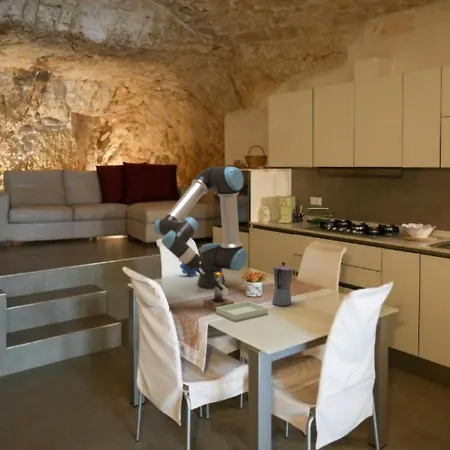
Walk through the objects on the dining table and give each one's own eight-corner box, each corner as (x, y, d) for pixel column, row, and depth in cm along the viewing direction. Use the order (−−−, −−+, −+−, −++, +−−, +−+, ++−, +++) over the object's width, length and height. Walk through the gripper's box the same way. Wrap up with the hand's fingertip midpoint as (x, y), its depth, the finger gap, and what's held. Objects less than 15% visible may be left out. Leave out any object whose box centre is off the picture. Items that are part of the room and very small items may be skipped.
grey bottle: (219, 302, 233) (219, 271, 231) (224, 304, 230) (224, 272, 228) (212, 304, 230) (212, 272, 228) (217, 306, 227) (217, 274, 225)
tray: (247, 307, 230) (247, 300, 230) (267, 314, 219) (267, 307, 219) (216, 313, 220) (216, 307, 219) (235, 321, 208) (235, 315, 208)
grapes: (181, 278, 287) (181, 258, 286) (179, 276, 294) (178, 256, 292) (201, 277, 291) (201, 257, 290) (198, 274, 298) (197, 255, 296)
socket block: (220, 302, 237) (220, 296, 237) (233, 307, 229) (233, 301, 229) (203, 306, 231) (203, 300, 231) (215, 311, 223) (215, 305, 223)
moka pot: (295, 301, 240) (295, 260, 238) (288, 309, 226) (289, 266, 224) (275, 299, 244) (276, 259, 241) (268, 307, 229) (268, 265, 227)
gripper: (184, 260, 234) (219, 293, 238) (185, 268, 218) (222, 303, 222) (195, 249, 234) (230, 282, 238) (197, 256, 217) (234, 291, 221)
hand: (226, 292), depth 230 cm, fingers closed on grey bottle, 4 cm apart
